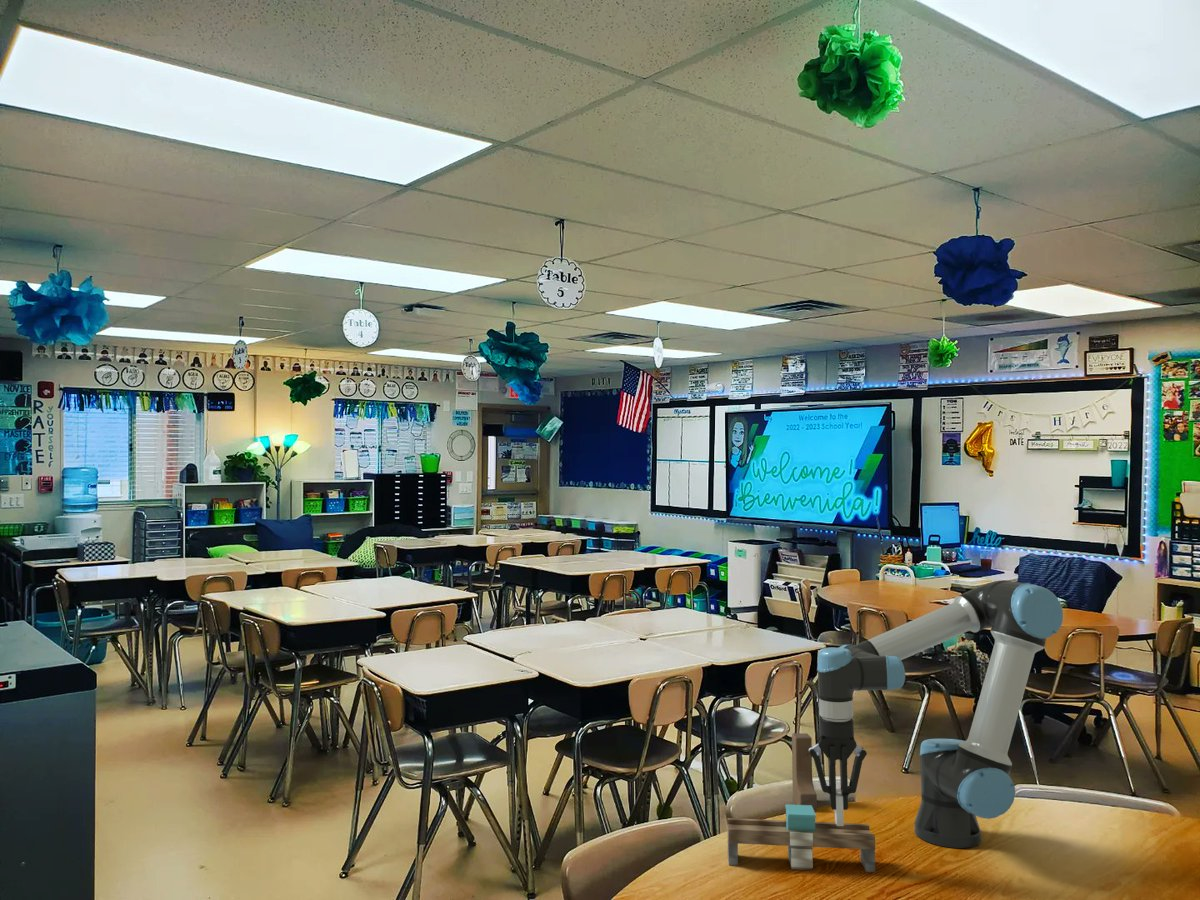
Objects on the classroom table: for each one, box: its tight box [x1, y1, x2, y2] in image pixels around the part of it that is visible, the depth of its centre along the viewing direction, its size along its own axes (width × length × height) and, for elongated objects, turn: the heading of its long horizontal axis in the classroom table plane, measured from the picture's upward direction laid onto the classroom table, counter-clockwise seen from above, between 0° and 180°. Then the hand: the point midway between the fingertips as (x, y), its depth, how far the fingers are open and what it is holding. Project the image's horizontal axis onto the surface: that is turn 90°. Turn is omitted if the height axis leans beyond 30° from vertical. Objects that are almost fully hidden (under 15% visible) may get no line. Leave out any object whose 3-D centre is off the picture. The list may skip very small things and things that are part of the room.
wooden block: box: [791, 732, 818, 812], centre depth 229 cm, size 9×4×18 cm, turn 0°
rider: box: [784, 803, 817, 831], centre depth 192 cm, size 6×6×5 cm
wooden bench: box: [726, 817, 876, 873], centre depth 192 cm, size 32×7×8 cm, turn 84°
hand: (839, 823), depth 191 cm, fingers closed
